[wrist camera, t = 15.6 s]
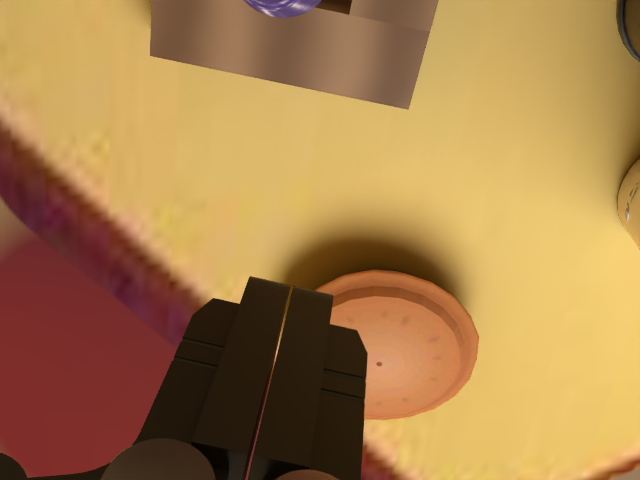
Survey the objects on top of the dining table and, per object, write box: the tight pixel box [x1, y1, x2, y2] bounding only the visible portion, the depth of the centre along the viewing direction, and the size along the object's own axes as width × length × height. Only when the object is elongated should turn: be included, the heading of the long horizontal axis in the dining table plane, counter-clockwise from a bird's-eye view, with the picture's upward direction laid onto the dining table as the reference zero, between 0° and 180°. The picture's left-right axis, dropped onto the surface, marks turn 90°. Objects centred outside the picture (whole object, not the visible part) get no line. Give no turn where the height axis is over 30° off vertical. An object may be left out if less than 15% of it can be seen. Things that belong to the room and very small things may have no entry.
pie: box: [315, 269, 479, 420], centre depth 49 cm, size 15×16×5 cm
